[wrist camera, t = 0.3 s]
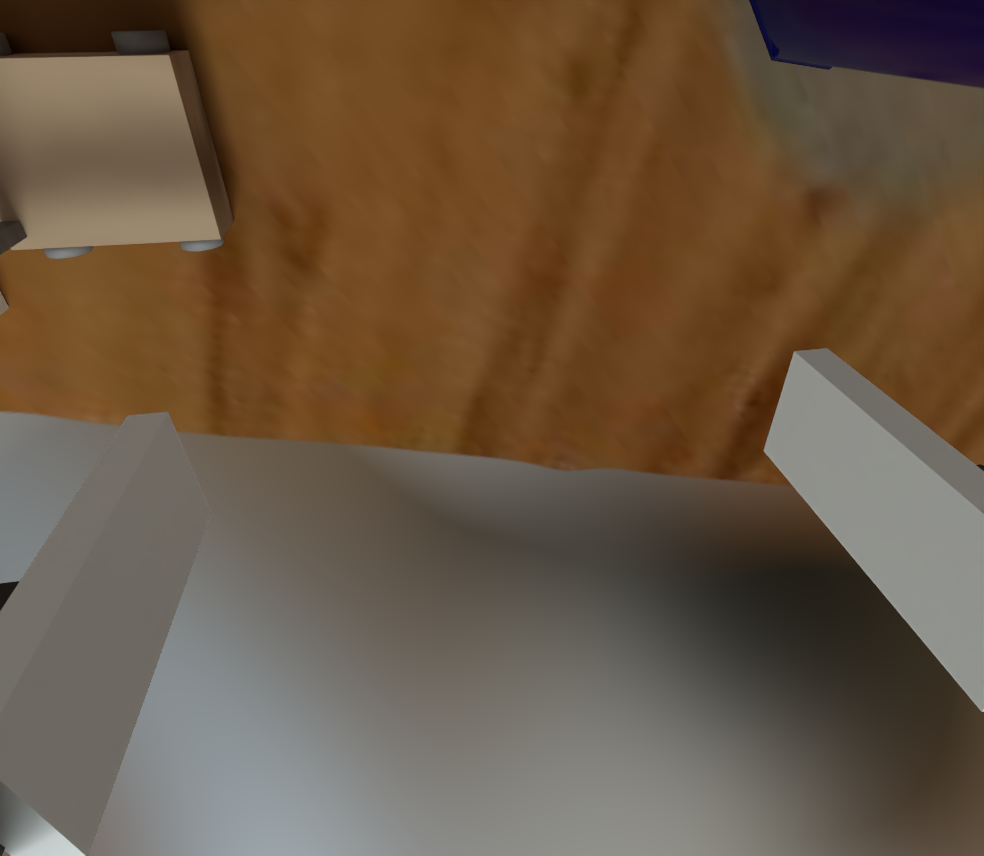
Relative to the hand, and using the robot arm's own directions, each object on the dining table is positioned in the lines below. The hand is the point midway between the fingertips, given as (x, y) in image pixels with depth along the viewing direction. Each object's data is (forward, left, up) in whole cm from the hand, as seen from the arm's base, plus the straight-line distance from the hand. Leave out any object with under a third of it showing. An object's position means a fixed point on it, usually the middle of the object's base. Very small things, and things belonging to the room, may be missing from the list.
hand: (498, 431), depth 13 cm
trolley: (-2, -16, -25) cm, 30 cm away
